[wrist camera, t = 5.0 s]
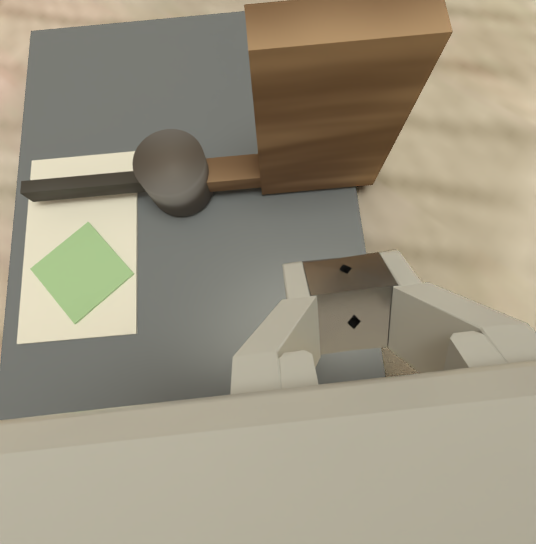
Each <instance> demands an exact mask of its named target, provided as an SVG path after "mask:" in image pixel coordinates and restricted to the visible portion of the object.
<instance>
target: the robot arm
mask: <svg viewBox="0 0 536 544" xmlns="http://www.w3.org/2000/svg"><path fill="white" fill-rule="evenodd" d="M282 267H283V276H284V285H285V294H286V299H283V300H281V301H280V302H279V303H278V305H277V306H276V307H275V308H274V309H273V310H272V312H271V313H270V314H269V315H268V316H267V317H266V319H265V320H264V321H263V322H262V323H261V324H260V326H259V327H258V328H257V329H256V330H255V331H254V333H253V334H252V335H251V336H250V337H249V338H248V340H247V341H246V342H245V343H244V344H243V345H242V347H241V348H240V349H239V350H238V351H237V352H236V354H235V355H234V356H233V359H232V375H231V391H230V395H221V396H212V397H203V398H194V399H185V400H177V401H168V402H159V403H150V404H141V405H132V406H123V407H114V408H105V409H96V410H87V411H78V412H69V413H61V414H52V415H43V416H34V417H25V418H16V419H7V420H0V544H536V332H535V331H534V330H533V329H532V328H531V327H530V326H529V324H528V323H525V322H523V321H520V320H518V319H516V318H513V317H511V316H508V315H506V314H504V313H501V312H499V311H496V310H494V309H492V308H489V307H487V306H484V305H482V304H480V303H477V302H475V301H472V300H470V299H468V298H465V297H463V296H460V295H458V294H456V293H453V292H451V291H448V290H446V289H444V288H441V287H439V286H436V285H434V284H432V283H429V282H425V283H422V282H421V280H420V279H419V277H418V276H417V275H416V273H415V272H414V271H413V269H412V268H411V266H410V265H409V264H408V262H407V261H406V260H405V258H404V257H403V255H402V254H401V253H400V251H398V250H390V251H384V252H377V253H370V254H363V255H357V256H350V257H343V258H330V259H321V260H311V261H302V262H301V261H299V262H292V263H284V264H283V265H282ZM383 347H388V349H389V350H391V351H392V352H393V353H394V354H396V355H397V356H398V357H399V358H401V359H402V360H403V361H404V362H406V363H407V364H408V365H409V366H411V367H412V368H413V369H415V370H416V371H417V372H418V374H409V375H400V376H391V377H382V378H373V379H364V380H355V381H346V382H337V383H328V384H318V379H317V375H316V370H315V367H316V365H317V363H318V361H319V359H320V357H321V355H323V354H330V353H337V352H344V351H351V350H361V349H372V348H383Z"/></svg>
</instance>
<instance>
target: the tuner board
mask: <svg viewBox="0 0 536 544" xmlns="http://www.w3.org/2000/svg"><path fill="white" fill-rule="evenodd" d="M165 129H178V130H182V131H185V132H187V133H189V134H191V135H192V136H194V137H195V138H196V139H197V140H198V142H199V143H200V145H201V147H202V149H203V152H204V155H205V157H206V158H215V157H226V156H237V155H248V154H258V147H257V137H256V126H255V116H254V105H253V95H252V84H251V74H250V63H249V53H248V42H247V30H246V19H245V11H242V12H231V13H220V14H210V15H199V16H188V17H177V18H167V19H156V20H145V21H134V22H123V23H113V24H102V25H91V26H80V27H69V28H59V29H48V30H37V31H31V36H30V47H29V58H28V69H27V80H26V91H25V102H24V113H23V123H22V134H21V145H20V156H19V167H18V178H17V189H16V200H15V210H14V221H13V232H12V243H11V254H10V265H9V276H8V286H7V297H6V308H5V319H4V330H3V341H2V352H1V363H0V420H7V419H16V418H25V417H34V416H43V415H52V414H61V413H69V412H78V411H87V410H96V409H105V408H114V407H123V406H132V405H141V404H150V403H159V402H168V401H177V400H185V399H194V398H203V397H212V396H221V395H230V391H231V375H232V359H233V356H234V355H235V354H236V352H237V351H238V350H239V349H240V348H241V347H242V345H243V344H244V343H245V342H246V341H247V340H248V338H249V337H250V336H251V335H252V334H253V333H254V331H255V330H256V329H257V328H258V327H259V326H260V324H261V323H262V322H263V321H264V320H265V319H266V317H267V316H268V315H269V314H270V313H271V312H272V310H273V309H274V308H275V307H276V306H277V305H278V303H279V302H280V301H281V300H283V299H286V294H285V285H284V276H283V267H282V265H283V264H284V263H292V262H299V261H301V262H302V261H311V260H321V259H330V258H343V257H350V256H357V255H363V254H366V250H365V243H364V237H363V231H362V224H361V218H360V212H359V205H358V199H357V192H356V186H353V187H342V188H331V189H320V190H309V191H298V192H287V193H276V194H265V195H262V189H261V187H260V188H249V189H238V190H227V191H216V192H213V195H212V197H211V199H210V201H209V202H208V204H207V205H206V206H205V207H204V208H203V209H202V210H200V211H199V212H197V213H195V214H192V215H189V216H184V217H178V216H172V215H169V214H167V213H165V212H163V211H162V210H161V209H160V208H159V207H158V206H157V205H156V204H155V202H154V201H153V200H152V198H151V197H150V196H149V195H148V193H147V192H139V193H128V194H117V195H106V196H95V197H84V198H73V199H62V200H51V201H39V202H32V201H31V200H29V199H28V198H26V197H25V196H23V195H22V194H20V189H21V181H27V180H38V179H50V178H61V177H72V176H83V175H94V174H105V173H116V172H127V171H133V165H132V163H133V156H134V153H135V151H136V149H137V147H138V146H139V144H140V143H141V142H142V141H143V140H144V139H145V138H146V137H148V136H149V135H151V134H153V133H155V132H157V131H160V130H165ZM315 370H316V375H317V379H318V384H328V383H337V382H346V381H355V380H364V379H373V378H382V377H385V370H384V364H383V358H382V351H381V348H372V349H361V350H351V351H344V352H337V353H330V354H323V355H321V357H320V359H319V361H318V363H317V365H316V367H315Z"/></svg>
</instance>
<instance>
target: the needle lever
mask: <svg viewBox="0 0 536 544" xmlns="http://www.w3.org/2000/svg"><path fill="white" fill-rule="evenodd" d="M244 7H245V19H246V30H247V42H248V53H249V63H250V74H251V84H252V95H253V105H254V116H255V126H256V137H257V147H258V154H248V155H237V156H226V157H215V158H206V157H205V155H204V152H203V149H202V147H201V145H200V143H199V142H198V140H197V139H196V138H195V137H194V136H192V135H191V134H189V133H187V132H185V131H182V130H178V129H165V130H160V131H157V132H155V133H153V134H151V135H149V136H148V137H146V138H145V139H144V140H143V141H142V142H141V143H140V144H139V146H138V147H137V149H136V151H135V153H134V156H133V163H132V165H133V171H127V172H116V173H105V174H94V175H83V176H72V177H61V178H50V179H38V180H27V181H21V189H20V194H22V195H23V196H25V197H26V198H28V199H29V200H31V201H32V202H39V201H51V200H62V199H73V198H84V197H95V196H106V195H117V194H128V193H139V192H147V193H148V195H149V196H150V197H151V198H152V200H153V201H154V202H155V204H156V205H157V206H158V207H159V208H160V209H161V210H162V211H163V212H165V213H167V214H169V215H172V216H178V217H184V216H189V215H192V214H195V213H197V212H199V211H200V210H202V209H203V208H204V207H205V206H206V205H207V204H208V202H209V201H210V199H211V197H212V195H213V192H216V191H227V190H238V189H249V188H260V187H261V189H262V195H265V194H276V193H287V192H298V191H309V190H320V189H331V188H342V187H353V186H365V185H373V183H374V181H375V179H376V177H377V176H378V174H379V172H380V170H381V168H382V166H383V164H384V162H385V160H386V158H387V156H388V154H389V153H390V151H391V149H392V147H393V145H394V143H395V141H396V139H397V137H398V135H399V133H400V132H401V130H402V128H403V126H404V124H405V122H406V120H407V118H408V116H409V114H410V112H411V110H412V109H413V107H414V105H415V103H416V101H417V99H418V97H419V95H420V93H421V91H422V89H423V87H424V86H425V84H426V82H427V80H428V78H429V76H430V74H431V72H432V70H433V68H434V66H435V65H436V63H437V61H438V59H439V57H440V55H441V53H442V51H443V49H444V47H445V45H446V43H447V42H448V40H449V38H450V36H451V34H452V32H453V31H452V27H451V24H450V20H449V16H448V12H447V8H446V4H445V0H289V1H278V2H267V3H256V4H246V5H244Z"/></svg>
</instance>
